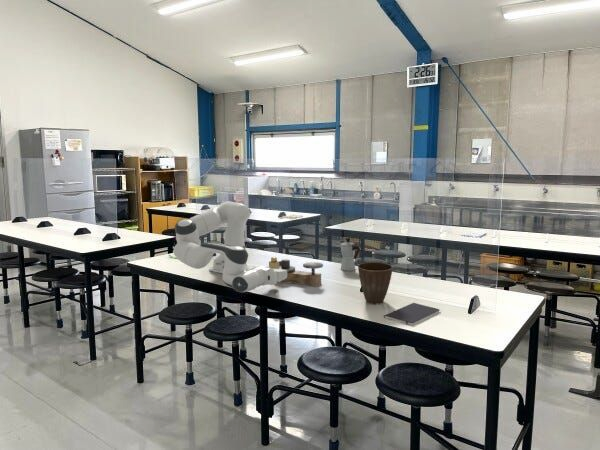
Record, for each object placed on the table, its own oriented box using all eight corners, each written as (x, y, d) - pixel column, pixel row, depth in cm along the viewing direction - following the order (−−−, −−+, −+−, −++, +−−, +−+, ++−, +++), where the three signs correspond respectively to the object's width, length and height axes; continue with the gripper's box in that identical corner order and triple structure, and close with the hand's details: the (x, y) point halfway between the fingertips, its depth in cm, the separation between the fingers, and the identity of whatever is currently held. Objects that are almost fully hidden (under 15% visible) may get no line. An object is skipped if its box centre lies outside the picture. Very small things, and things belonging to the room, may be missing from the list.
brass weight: (267, 282, 222) (266, 258, 220) (272, 280, 226) (272, 256, 224) (276, 283, 220) (275, 259, 218) (281, 281, 224) (281, 257, 222)
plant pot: (398, 301, 201) (399, 266, 198) (378, 309, 191) (379, 272, 188) (371, 294, 212) (371, 260, 209) (350, 301, 201) (350, 266, 199)
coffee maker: (334, 268, 260) (334, 237, 257) (345, 265, 266) (345, 235, 263) (354, 273, 249) (354, 240, 246) (364, 270, 255) (365, 238, 252)
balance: (272, 281, 236) (272, 261, 234) (282, 276, 244) (282, 257, 243) (317, 287, 223) (317, 266, 222) (326, 282, 232) (326, 262, 230)
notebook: (413, 306, 196) (384, 318, 182) (413, 302, 196) (384, 315, 181) (440, 313, 187) (412, 327, 173) (440, 309, 187) (412, 323, 172)
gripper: (241, 279, 216) (257, 272, 228) (278, 285, 206) (293, 277, 218) (240, 266, 215) (257, 260, 227) (277, 271, 205) (293, 264, 217)
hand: (275, 269), depth 223 cm, fingers closed on brass weight, 5 cm apart
